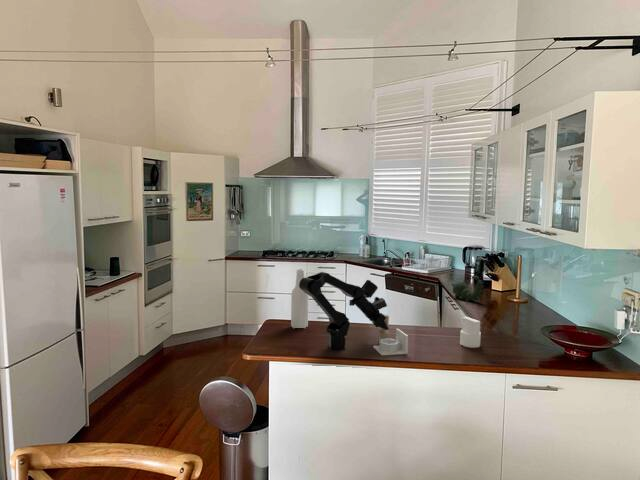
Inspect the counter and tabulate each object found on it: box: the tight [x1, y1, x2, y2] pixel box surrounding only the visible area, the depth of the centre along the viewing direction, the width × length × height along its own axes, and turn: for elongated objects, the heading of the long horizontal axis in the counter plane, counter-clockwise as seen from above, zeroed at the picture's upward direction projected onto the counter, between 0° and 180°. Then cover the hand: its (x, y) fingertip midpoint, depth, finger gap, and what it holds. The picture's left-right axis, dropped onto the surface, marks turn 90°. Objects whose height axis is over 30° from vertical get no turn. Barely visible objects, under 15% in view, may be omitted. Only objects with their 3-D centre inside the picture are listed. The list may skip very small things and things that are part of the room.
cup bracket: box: [372, 328, 409, 356], centre depth 200 cm, size 12×11×8 cm
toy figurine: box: [450, 275, 485, 302], centre depth 304 cm, size 9×19×25 cm
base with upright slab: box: [459, 316, 482, 349], centre depth 210 cm, size 9×9×12 cm
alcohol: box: [290, 268, 309, 329], centre depth 233 cm, size 9×9×30 cm
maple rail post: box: [378, 314, 390, 343], centre depth 212 cm, size 4×4×12 cm
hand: (386, 327), depth 212 cm, fingers closed on maple rail post, 4 cm apart
